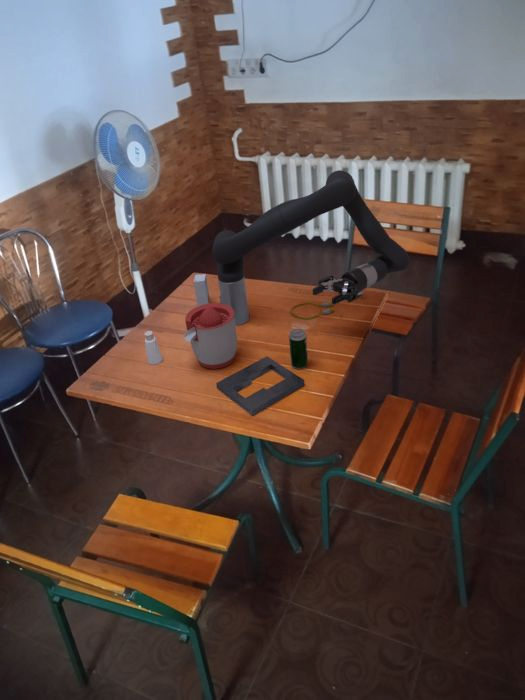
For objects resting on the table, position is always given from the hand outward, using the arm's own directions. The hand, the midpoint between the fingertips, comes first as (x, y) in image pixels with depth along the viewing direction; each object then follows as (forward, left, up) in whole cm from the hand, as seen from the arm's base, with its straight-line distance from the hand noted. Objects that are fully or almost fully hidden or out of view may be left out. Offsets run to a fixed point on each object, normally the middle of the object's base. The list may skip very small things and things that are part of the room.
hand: (323, 296), depth 172 cm
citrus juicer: (-24, -27, -20) cm, 42 cm away
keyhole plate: (-2, -27, -20) cm, 34 cm away
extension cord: (-20, +16, -21) cm, 33 cm away
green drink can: (-1, -11, -20) cm, 23 cm away
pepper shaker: (-40, -40, -20) cm, 60 cm away
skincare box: (-56, -6, -20) cm, 60 cm away
